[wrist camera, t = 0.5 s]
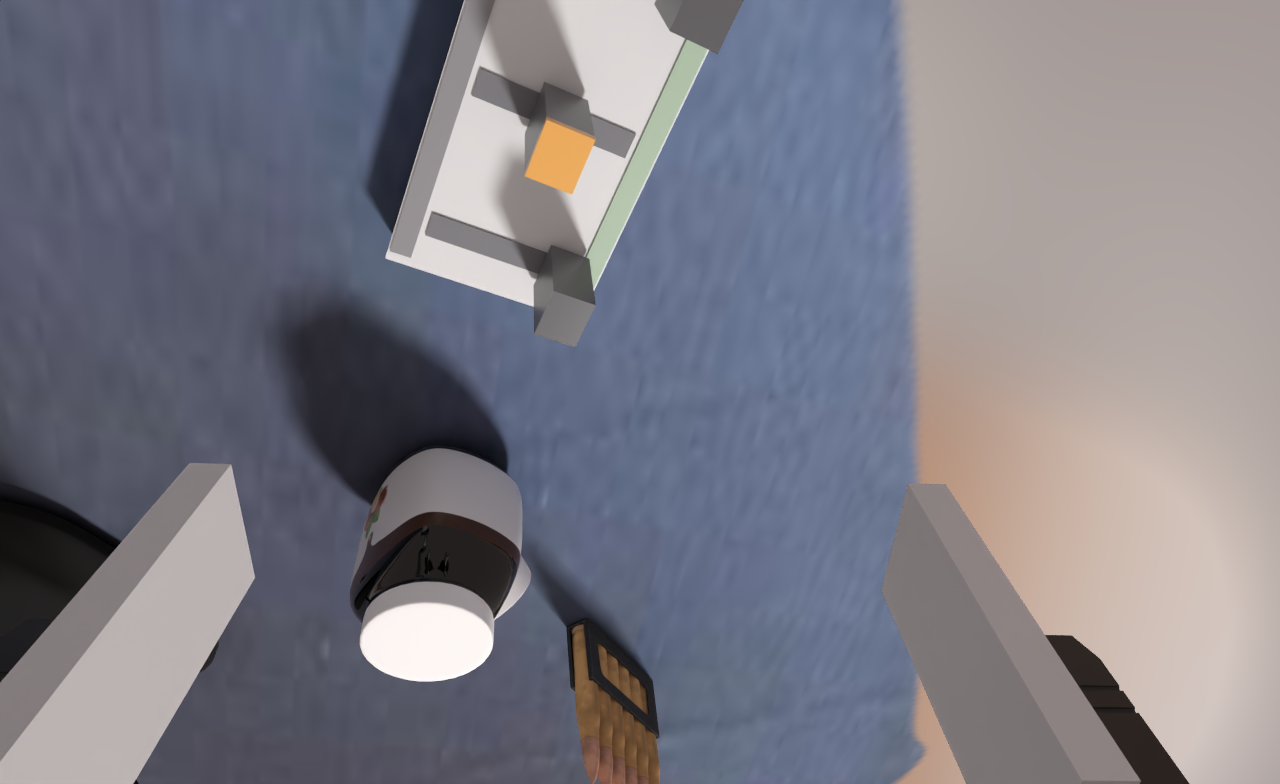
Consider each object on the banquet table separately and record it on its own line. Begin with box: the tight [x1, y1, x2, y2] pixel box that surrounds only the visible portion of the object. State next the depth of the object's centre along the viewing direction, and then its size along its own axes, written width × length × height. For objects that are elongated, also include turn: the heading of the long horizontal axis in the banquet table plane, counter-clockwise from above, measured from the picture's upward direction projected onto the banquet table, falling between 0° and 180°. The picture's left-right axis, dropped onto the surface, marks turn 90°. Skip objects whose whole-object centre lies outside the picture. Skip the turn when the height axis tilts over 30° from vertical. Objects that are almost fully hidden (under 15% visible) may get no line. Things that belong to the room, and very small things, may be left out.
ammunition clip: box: [567, 619, 660, 784], centre depth 59 cm, size 11×2×12 cm, turn 29°
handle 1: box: [533, 245, 595, 347], centre depth 38 cm, size 2×2×4 cm
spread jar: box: [350, 446, 531, 681], centre depth 48 cm, size 12×11×12 cm
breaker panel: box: [386, 0, 709, 307], centre depth 36 cm, size 19×10×3 cm, turn 155°
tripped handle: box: [525, 82, 595, 194], centre depth 33 cm, size 2×2×5 cm
